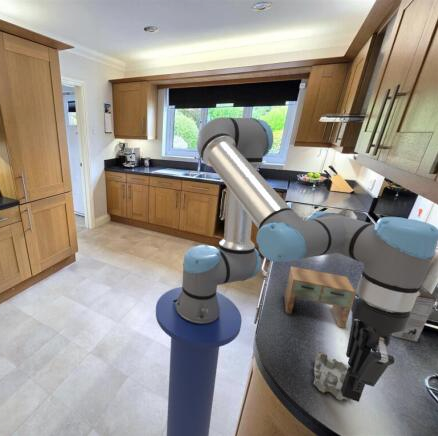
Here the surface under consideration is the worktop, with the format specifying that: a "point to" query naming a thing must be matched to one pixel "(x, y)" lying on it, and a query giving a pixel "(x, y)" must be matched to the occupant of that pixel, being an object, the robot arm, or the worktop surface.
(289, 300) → the drawer unit
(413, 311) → the coffee box
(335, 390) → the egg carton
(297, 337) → the worktop surface
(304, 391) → the worktop surface
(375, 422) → the worktop surface
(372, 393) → the worktop surface
